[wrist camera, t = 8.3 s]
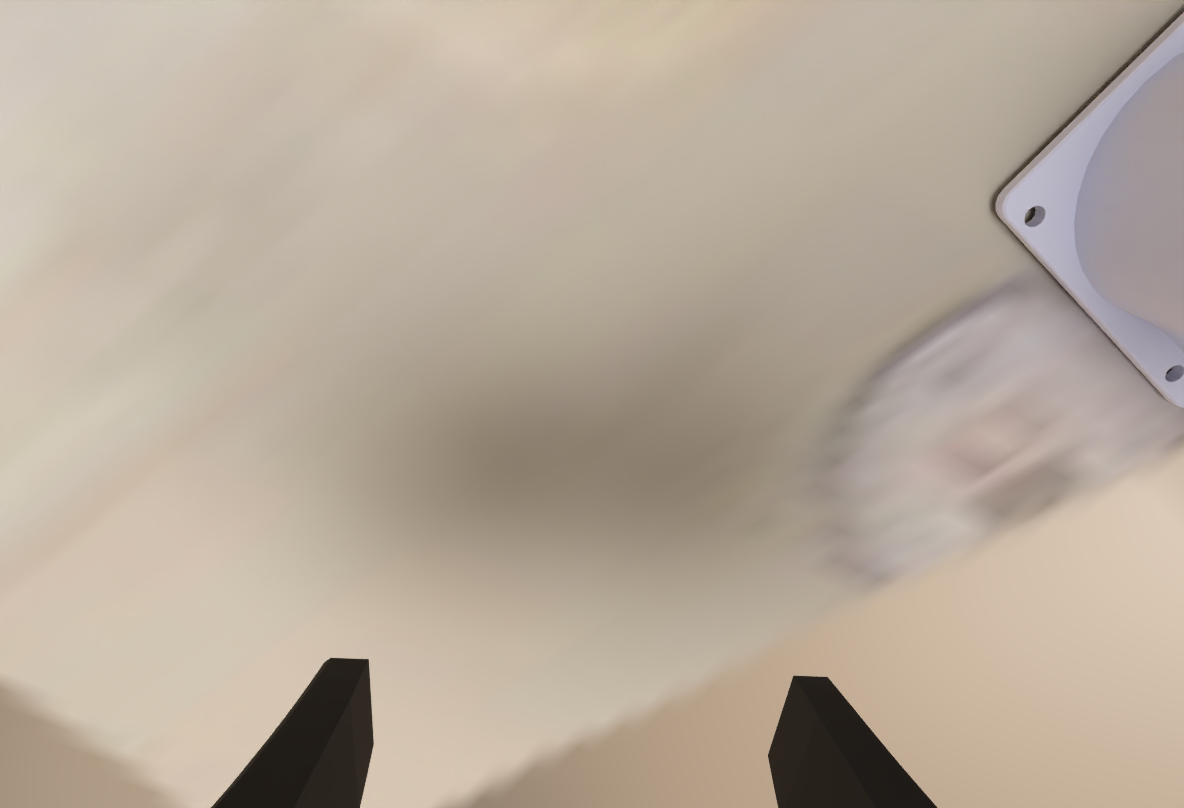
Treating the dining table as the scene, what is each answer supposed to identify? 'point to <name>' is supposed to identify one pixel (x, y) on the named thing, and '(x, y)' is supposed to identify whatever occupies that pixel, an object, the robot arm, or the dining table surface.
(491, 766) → the dining table surface
